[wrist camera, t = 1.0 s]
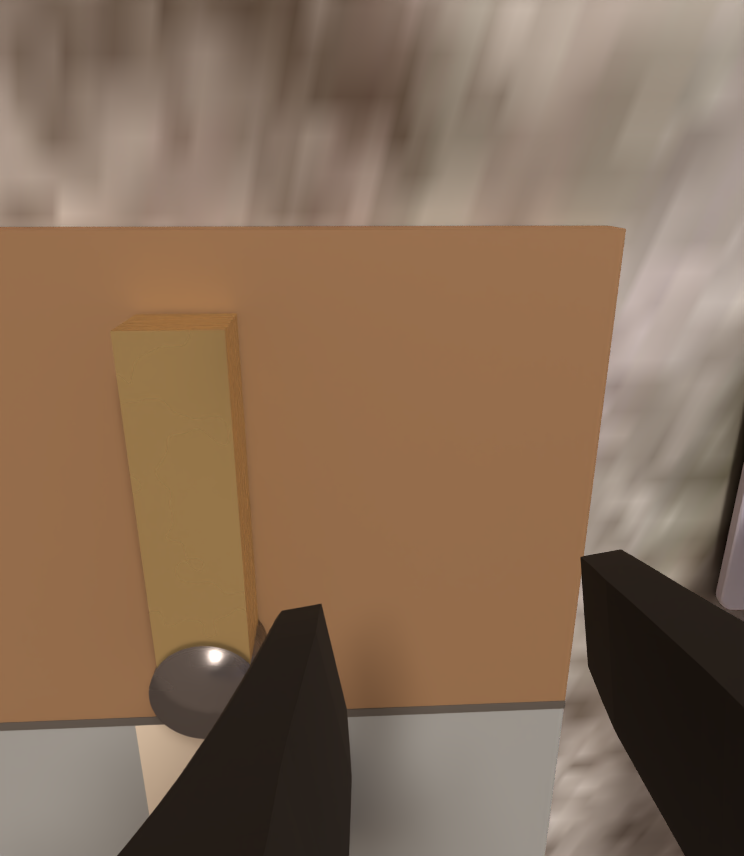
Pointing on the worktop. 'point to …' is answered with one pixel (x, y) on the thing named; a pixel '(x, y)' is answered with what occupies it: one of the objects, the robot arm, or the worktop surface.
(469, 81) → the worktop surface
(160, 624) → the latch arm
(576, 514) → the door mockup
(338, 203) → the worktop surface
